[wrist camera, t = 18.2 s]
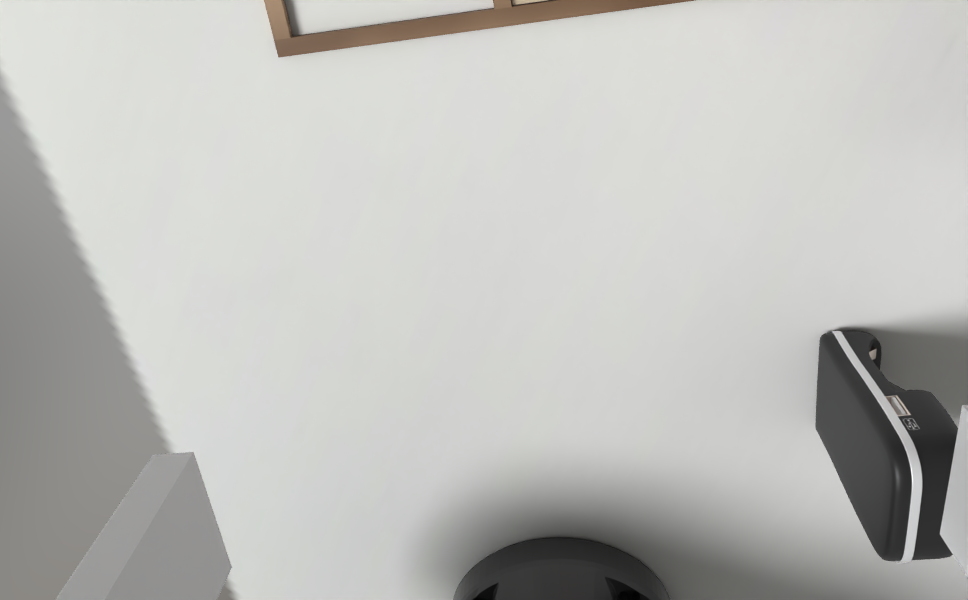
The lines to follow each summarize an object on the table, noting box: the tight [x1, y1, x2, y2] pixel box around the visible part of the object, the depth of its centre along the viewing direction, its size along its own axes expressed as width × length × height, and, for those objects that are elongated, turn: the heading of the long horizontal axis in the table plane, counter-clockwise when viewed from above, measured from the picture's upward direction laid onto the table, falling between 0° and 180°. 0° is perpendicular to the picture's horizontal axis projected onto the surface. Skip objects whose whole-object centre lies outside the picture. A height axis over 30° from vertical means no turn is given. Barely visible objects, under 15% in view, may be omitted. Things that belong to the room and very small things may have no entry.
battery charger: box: [816, 331, 958, 563], centre depth 41 cm, size 7×4×11 cm, turn 8°
